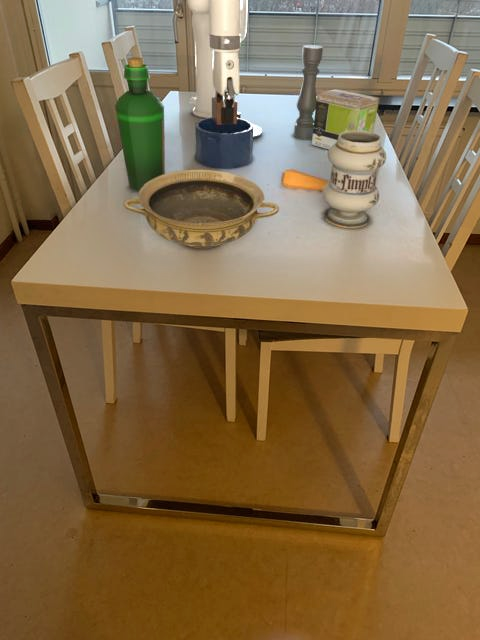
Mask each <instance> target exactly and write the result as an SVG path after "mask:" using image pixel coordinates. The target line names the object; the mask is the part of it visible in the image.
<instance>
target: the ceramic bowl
mask: <svg viewBox="0 0 480 640" xmlns="http://www.w3.org/2000/svg"><path fill="white" fill-rule="evenodd" d="M264 201H265V194H264V192H263V190H262V188H261V187H260V186H259V185H258V184H257V183H256V182H253V181H252V180H250V179H248V178H246V177H243V176H241V175H238V174H235V173H231V172H226V171H222V170H221V171H220V170H213V169H186V170H177V171H172V172H168V173H165V174H164V175H161V176H158V177H156V178H154V179H152V180H150V181H149V182H147V183H146V184H144V186H143V187H142V188H141V189H140V191H139V192H138V194H137V198H129V199H125V200H124V201H123V206H124V209H126V210H127V211H130V212H132V213H137V214H139V215H142V216H144V217H145V219H146V222H147V223H148V225H149V227H150V228H151V229H152V230H153V231H154V232H155V233H156V234H158V235H159V236H161V237H162V238H163V239H166V240H167V241H171V242H173V243H176V244H179V245H184V246H189V247H191V248H195V249H208V248H209V249H210V248H214V247H216V246H220V245H224V244H228V243H230V242H233V241H235V240H238V239H240V238H242V237H243V236H244V235H246V234H247V233H249V232H250V231H251V229H252V228H253V227H254V225H255V224H256V222H257V221H258V220H260V219H265V218H271V217H273V216H275V215H277V214H278V212H279V211H280V207H279V205H278V204H277V203H274V202H264ZM132 205H141V207H142V208H138V207H135V206H132ZM260 208H269V209H272V210H270V211H267V212H258V210H259V209H260Z"/></svg>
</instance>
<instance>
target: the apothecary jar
mask: <svg viewBox="0 0 480 640" xmlns="http://www.w3.org/2000/svg"><path fill="white" fill-rule="evenodd" d="M327 158H328V161H329V162H330V164H331V172H330V177H329V181H330V182H328V183H327V184H326V185H325V187H324V188H323V191H322V198H323V200H324V201H325V203H326V204H327V205H329V206H330V207H331V208H328V209H327V210H326V211H325V212H324V215H325V216H324V219H325V221H326V222H328V223H329V224H331V225H333V226H336V227H339V228H343V229H359V228H362V227H364V226H366V225H368V224H369V221H370V217H369V215H368V214H367V212H365V211H367V210H369V209H371V208H373V207H374V206H376V205H377V203H378V202H379V200H380V191H379V189H378V188H377V186H376V184H377V178H378V177H377V176H378V170H379V169H380V168H381V167H382V166H384V164H386V161H387V153H386V150H385V149H384V148H383V146H382V138H381V136H380V135H379V134H377V133H375V132H373V133H372V132H367V131H360V130H351V131H345V132H342V133H340V134H339V137H338V140H337V142H336V143H335V144H333V145H332V146H331V147H330V149H328V151H327Z"/></svg>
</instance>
